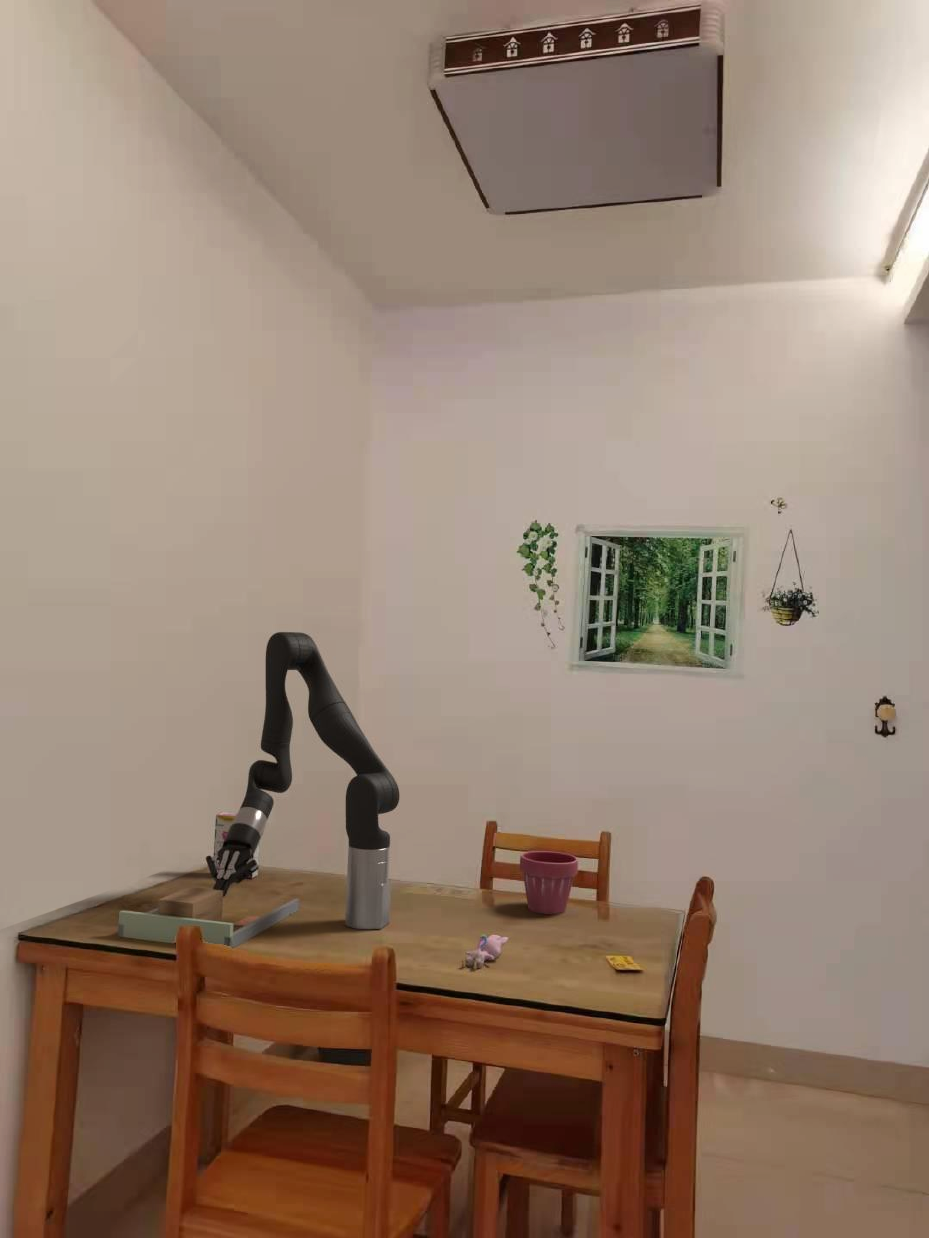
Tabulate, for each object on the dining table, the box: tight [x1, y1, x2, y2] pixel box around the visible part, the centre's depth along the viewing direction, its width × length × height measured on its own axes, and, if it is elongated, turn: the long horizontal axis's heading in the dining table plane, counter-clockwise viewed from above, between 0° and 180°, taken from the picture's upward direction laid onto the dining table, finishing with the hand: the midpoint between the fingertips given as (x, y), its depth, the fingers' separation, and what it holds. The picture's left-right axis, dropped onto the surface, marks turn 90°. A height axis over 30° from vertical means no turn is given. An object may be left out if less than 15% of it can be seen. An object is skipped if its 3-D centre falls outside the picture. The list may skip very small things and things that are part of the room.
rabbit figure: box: [461, 933, 509, 971], centre depth 187 cm, size 6×6×15 cm
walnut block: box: [157, 886, 224, 922], centre depth 197 cm, size 8×12×8 cm, turn 165°
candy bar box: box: [213, 811, 261, 879], centre depth 250 cm, size 11×5×16 cm, turn 84°
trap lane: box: [117, 898, 300, 949], centre depth 205 cm, size 25×33×5 cm
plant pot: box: [519, 850, 579, 915], centre depth 228 cm, size 14×14×13 cm
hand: (217, 896), depth 206 cm, fingers closed
